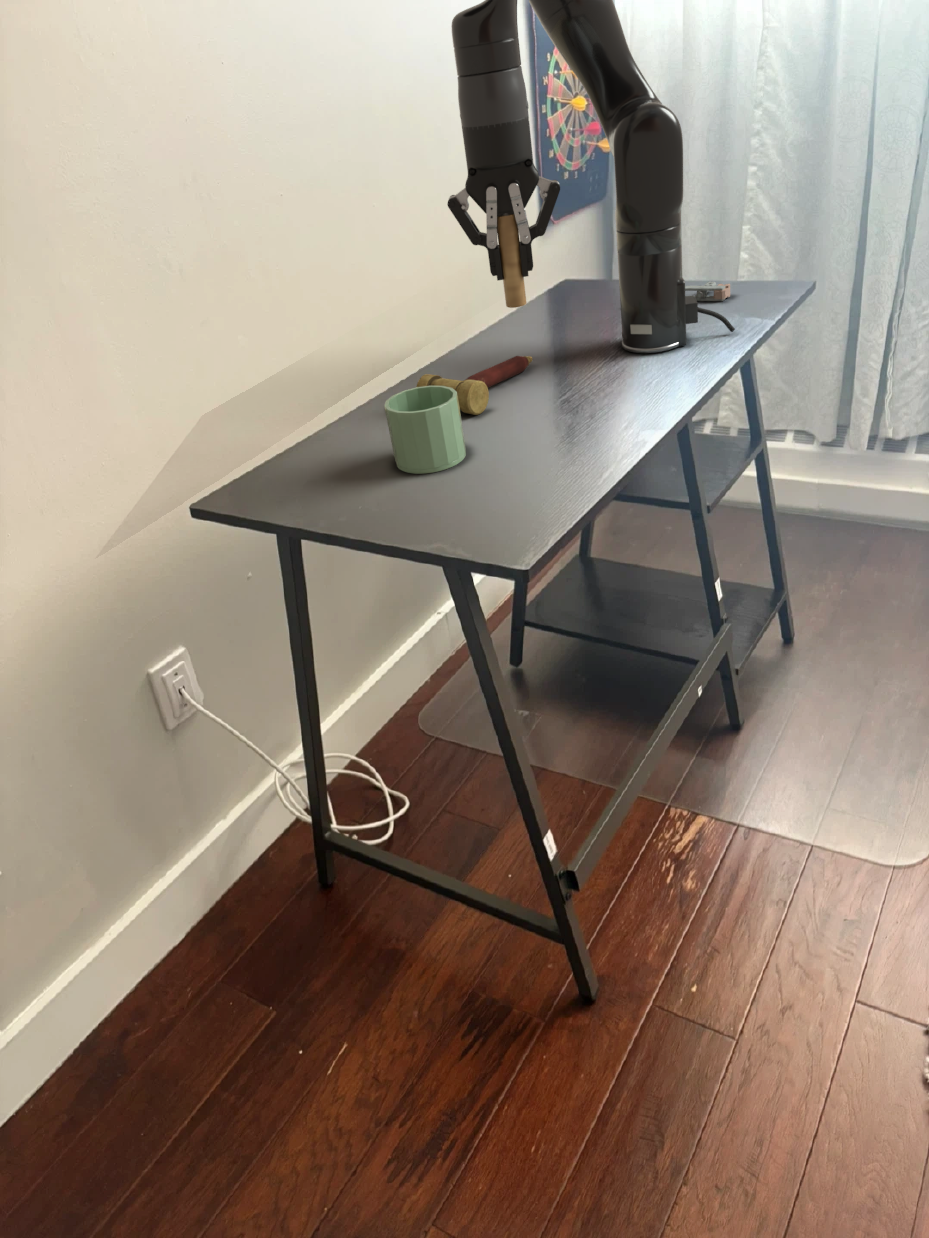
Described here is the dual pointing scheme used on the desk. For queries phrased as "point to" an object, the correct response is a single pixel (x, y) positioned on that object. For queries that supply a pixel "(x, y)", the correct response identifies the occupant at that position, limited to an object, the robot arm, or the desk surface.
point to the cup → (425, 429)
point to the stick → (511, 261)
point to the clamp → (719, 290)
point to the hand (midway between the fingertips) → (513, 276)
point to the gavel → (478, 383)
